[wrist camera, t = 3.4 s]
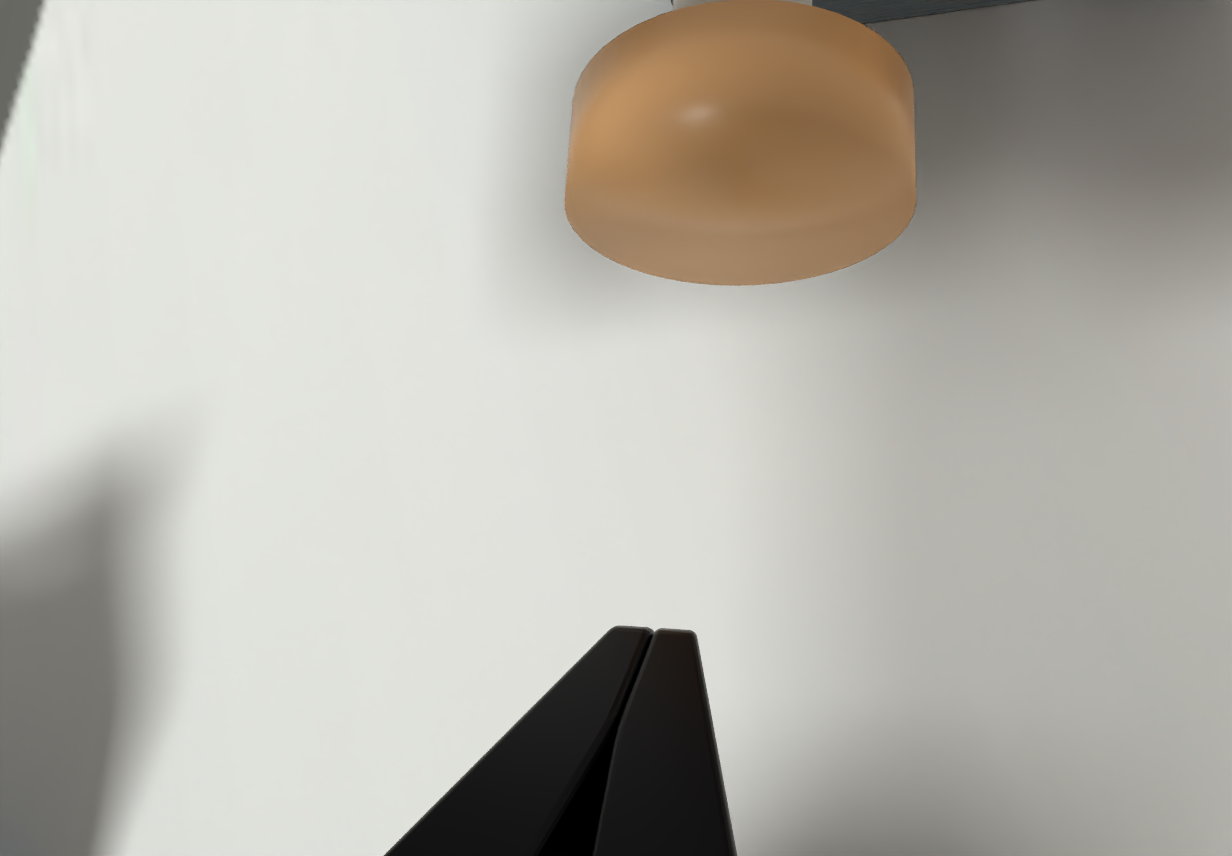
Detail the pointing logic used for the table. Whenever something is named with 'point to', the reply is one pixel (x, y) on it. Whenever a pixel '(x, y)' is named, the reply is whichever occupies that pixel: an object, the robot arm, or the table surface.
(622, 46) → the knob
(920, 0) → the mount
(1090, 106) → the table surface
